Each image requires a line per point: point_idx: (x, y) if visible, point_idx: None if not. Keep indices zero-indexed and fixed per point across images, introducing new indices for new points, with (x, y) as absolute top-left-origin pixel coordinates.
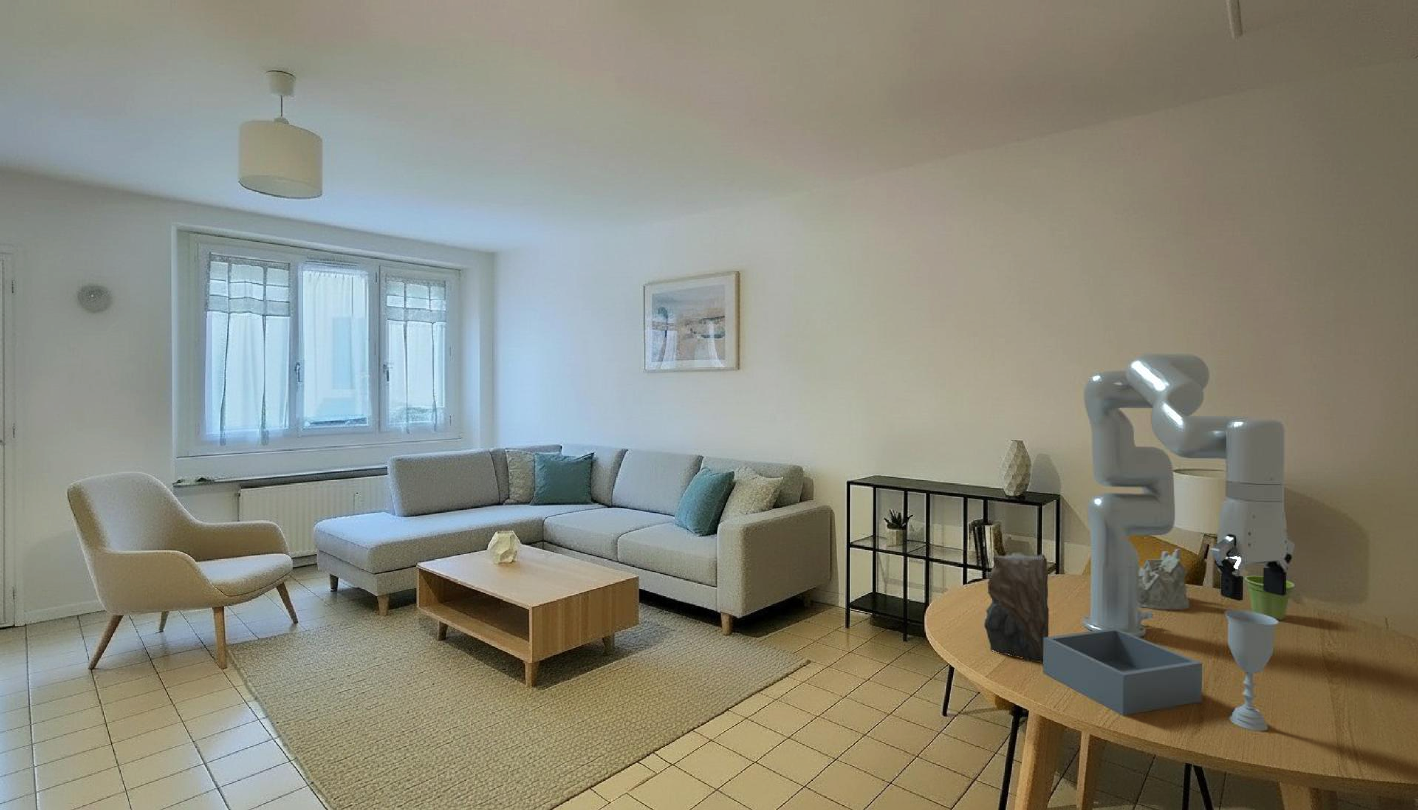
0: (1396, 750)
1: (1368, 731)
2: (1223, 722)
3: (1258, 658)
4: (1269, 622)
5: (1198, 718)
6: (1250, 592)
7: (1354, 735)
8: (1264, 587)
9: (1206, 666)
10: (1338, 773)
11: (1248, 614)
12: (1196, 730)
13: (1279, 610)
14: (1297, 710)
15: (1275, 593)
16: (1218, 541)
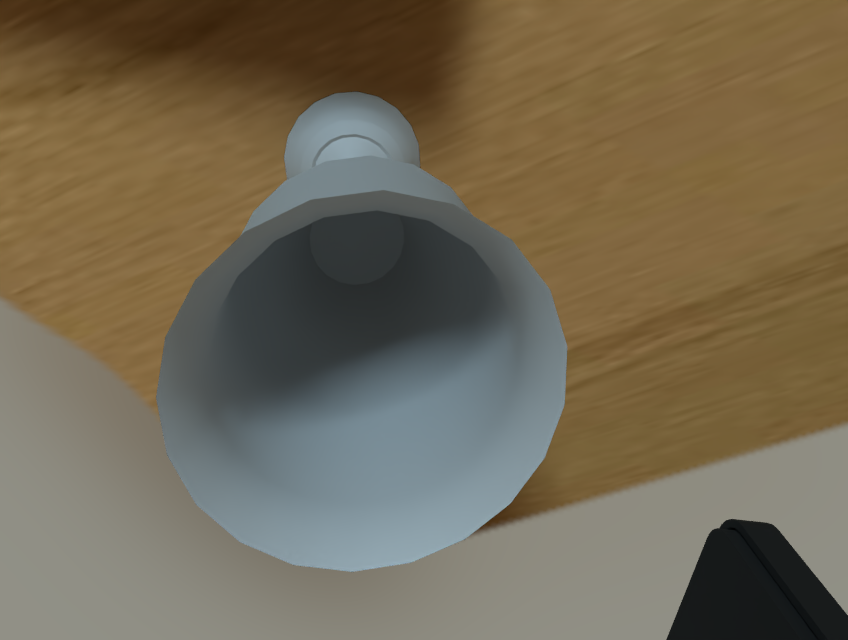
0: (590, 480)
1: (682, 391)
2: (255, 105)
3: (287, 353)
4: (493, 449)
5: (183, 26)
6: None
7: (602, 385)
8: (728, 561)
9: None
10: None
11: (529, 299)
12: (52, 88)
13: None
14: (677, 198)
15: (672, 632)
16: None
